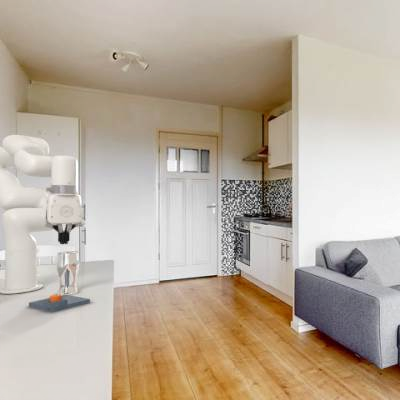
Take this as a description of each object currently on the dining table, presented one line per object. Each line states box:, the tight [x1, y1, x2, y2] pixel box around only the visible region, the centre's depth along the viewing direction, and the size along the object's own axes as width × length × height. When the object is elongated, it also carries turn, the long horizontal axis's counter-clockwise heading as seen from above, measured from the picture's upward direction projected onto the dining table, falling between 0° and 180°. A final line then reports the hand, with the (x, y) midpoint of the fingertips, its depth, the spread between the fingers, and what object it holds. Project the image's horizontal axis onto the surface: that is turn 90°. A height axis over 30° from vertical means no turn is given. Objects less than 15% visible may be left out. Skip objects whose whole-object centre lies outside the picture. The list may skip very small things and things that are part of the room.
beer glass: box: [55, 250, 80, 295], centre depth 126 cm, size 7×7×15 cm
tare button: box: [49, 293, 62, 302], centre depth 105 cm, size 3×3×2 cm
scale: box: [28, 294, 91, 313], centre depth 110 cm, size 14×12×3 cm
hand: (63, 243), depth 119 cm, fingers closed
